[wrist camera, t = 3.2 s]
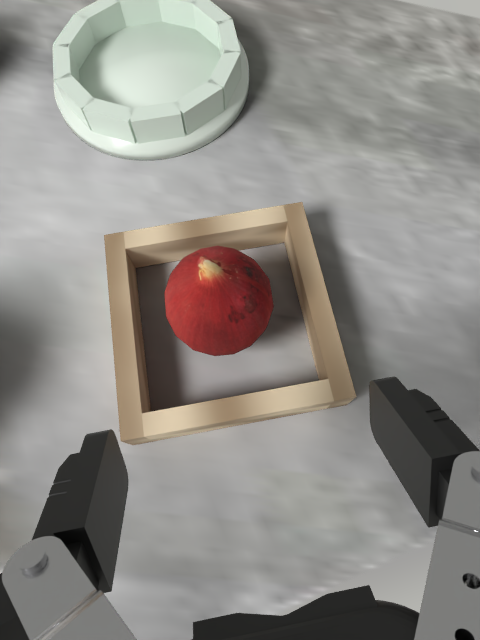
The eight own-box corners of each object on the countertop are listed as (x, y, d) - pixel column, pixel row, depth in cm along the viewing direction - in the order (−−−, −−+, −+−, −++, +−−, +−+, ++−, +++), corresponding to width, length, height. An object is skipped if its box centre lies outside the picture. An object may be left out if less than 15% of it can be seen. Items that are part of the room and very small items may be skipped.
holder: (297, 224, 29) (302, 201, 27) (346, 405, 25) (356, 396, 23) (115, 255, 29) (104, 235, 27) (132, 445, 25) (120, 441, 22)
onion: (262, 277, 28) (266, 202, 21) (276, 363, 26) (287, 314, 19) (172, 289, 28) (144, 218, 20) (180, 376, 26) (152, 332, 18)
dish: (231, 7, 37) (229, -32, 34) (266, 142, 32) (267, 109, 29) (56, 32, 37) (40, -5, 34) (62, 175, 31) (43, 144, 29)
